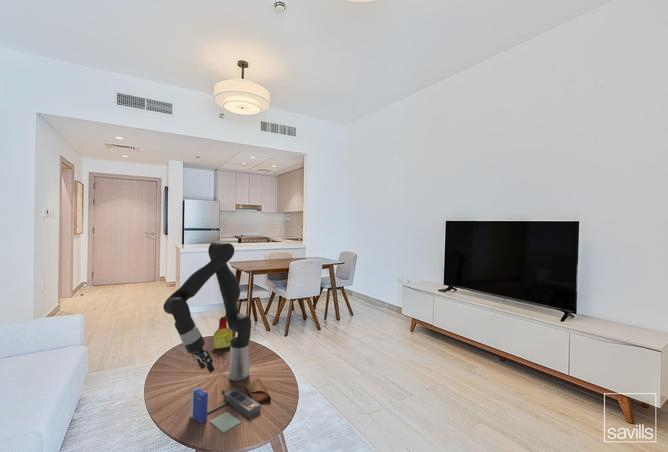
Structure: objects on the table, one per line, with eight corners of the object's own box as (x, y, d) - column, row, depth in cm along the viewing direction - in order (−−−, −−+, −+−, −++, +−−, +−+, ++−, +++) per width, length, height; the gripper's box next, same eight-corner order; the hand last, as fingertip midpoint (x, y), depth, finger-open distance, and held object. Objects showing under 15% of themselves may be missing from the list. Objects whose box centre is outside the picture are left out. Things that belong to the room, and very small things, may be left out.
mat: (227, 412, 129) (227, 411, 129) (240, 422, 123) (240, 421, 123) (209, 421, 123) (209, 421, 123) (223, 433, 117) (223, 432, 117)
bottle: (213, 351, 187) (214, 319, 187) (211, 347, 193) (212, 316, 192) (232, 347, 193) (234, 317, 193) (230, 343, 199) (231, 314, 198)
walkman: (207, 420, 124) (207, 392, 124) (200, 424, 122) (201, 395, 121) (195, 413, 128) (196, 385, 128) (189, 416, 126) (190, 388, 126)
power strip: (192, 406, 133) (192, 399, 133) (227, 389, 147) (228, 382, 146) (224, 432, 117) (224, 424, 117) (260, 411, 131) (260, 403, 131)
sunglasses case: (242, 386, 149) (249, 373, 151) (254, 390, 153) (261, 378, 154) (253, 406, 134) (261, 392, 136) (265, 410, 137) (273, 396, 139)
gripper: (207, 335, 127) (222, 366, 130) (193, 331, 136) (208, 360, 139) (190, 346, 121) (207, 379, 124) (177, 342, 131) (193, 372, 134)
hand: (207, 369), depth 132 cm, fingers open, 8 cm apart
